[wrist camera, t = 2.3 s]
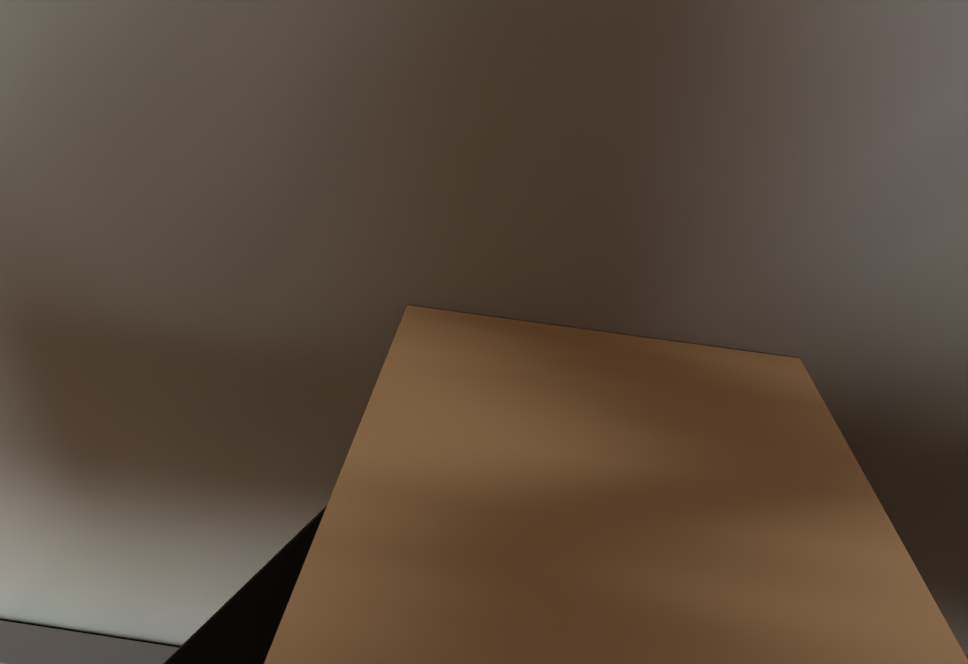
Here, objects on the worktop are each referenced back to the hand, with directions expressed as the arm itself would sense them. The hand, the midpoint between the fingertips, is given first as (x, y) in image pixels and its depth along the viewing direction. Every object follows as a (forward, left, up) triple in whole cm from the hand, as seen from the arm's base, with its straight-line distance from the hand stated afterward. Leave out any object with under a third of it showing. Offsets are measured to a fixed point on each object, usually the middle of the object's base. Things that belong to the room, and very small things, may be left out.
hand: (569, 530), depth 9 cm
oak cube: (0, 0, -1) cm, 1 cm away
